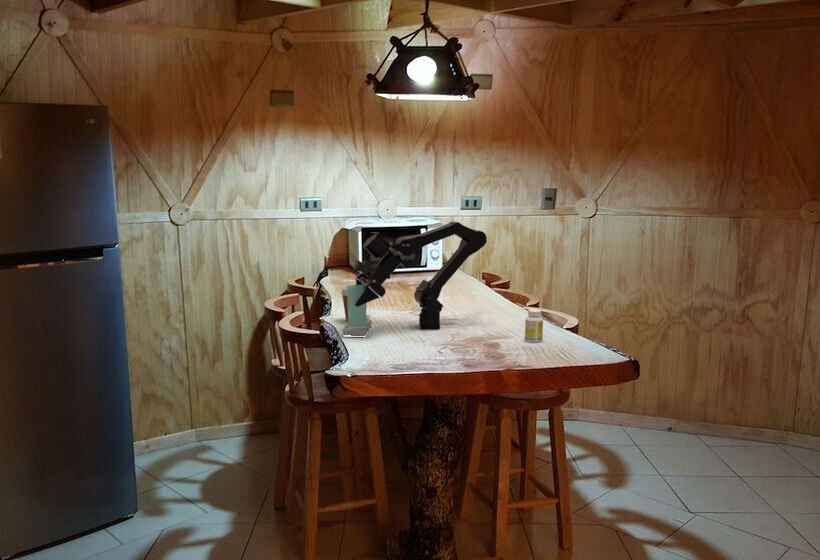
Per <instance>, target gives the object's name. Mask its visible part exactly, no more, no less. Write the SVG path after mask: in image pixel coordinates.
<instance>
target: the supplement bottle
mask: <svg viewBox="0 0 820 560" xmlns="http://www.w3.org/2000/svg"><path fill="white" fill-rule="evenodd" d="M524 321H525V323H524V327H525V328H524V330H525V331H524V340H525V341H526V342H529V343H541V342H542V341H543V329H544V319H543V317H542V310H541V309H539V308H533V309H532V308H530V309H528V310H527V316H526V317H525V320H524Z"/></svg>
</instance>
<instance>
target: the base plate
mask: <svg viewBox="0 0 820 560" xmlns="http://www.w3.org/2000/svg"><path fill="white" fill-rule="evenodd" d="M370 317H371V316H370V314H366V327H355V328H351V327H350V326H349V325H348V323H346V325H345V327H344V328H343V329H342V336H343V335H351V336H365V335H366V334H367V332H368V331H369V329H370V328H371V329H372V320H370V319H371V318H370ZM371 329H370V330H371ZM369 332H370V331H369ZM369 332H368V333H369ZM367 335H368V334H367ZM367 335H366V336H367Z"/></svg>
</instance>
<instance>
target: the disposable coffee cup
mask: <svg viewBox="0 0 820 560" xmlns="http://www.w3.org/2000/svg"><path fill="white" fill-rule="evenodd" d="M340 294H341V296H342V302H343V310H344V314H345V322H346V321H347V322H348V295H347V286H344V287H343V288H341V292H340Z"/></svg>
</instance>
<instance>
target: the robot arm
mask: <svg viewBox="0 0 820 560" xmlns="http://www.w3.org/2000/svg"><path fill="white" fill-rule="evenodd" d="M452 236H456V237H458V238H460V243H459V245H458V248H457V249H456V251H455V252H454V253H452V255H451V256H450V257H449V258H448V260H447V261H446V262H445V263H444V264H443V265H442V267H440V268H439V270H438V271H437V272H436V273H435V275H434V276H433V277H432V278H431V279H429V280H428V281H427V280H426V279H422V280H421V282H420V284H419V285H418V286H417V287H415V290H414V293H413V296H414V301H415V302H416V303H418V306H419V307H420V308H421V309H420V313H419V315H418V317H419V318H418V319H419V321H418V322H419V325H418V326H419V327H420V328H421V330H422V329H423V330H440V329H441V312H442V311H443V307H444V304H442V303H441V302H440V301H439V300H438V299H439V297H440V294H441V291H442V289H443V288H444V287H445V285H446V284H447V282H448V281H450V279H451V278H452V277H453V275H454V274H456V272H457V271H458V270H459V268H460V267H461V266H462V265H463V264H464V262H465V261H466V260H467V259H468V258H469V257H470V256H473V254H475V253H477V252H479V251H480V250H481V249H482V248H483V247H484V246H485V245H486V244H487V242H488V238H487V234H486V233H485V232H484V231H481V230H477V229H473V228H470V227H468V226H466V225H463V224H462V223H461V222H458V221H450V222H448V223H446V224H444V225H442V226H439V227H435V228H432V229H429V230H427V231H424V232H422V233H420V234H411V235H404V236H400V237H398V238H397V239H396V240H395V241H394V240H393V241H387V240H386V239H385V237H383V235H382V234H381V233H380V232H375V234H373V235H371V236H370V237H369V238H367V239H366V241H365V242H364V243H363V246H362V247H363V248H364V249H365V251H367V252H368V253H369V254H370V255H371V256H372V257H373V258H374V259H378V258H379V259H380V260H379V261H378V262H377V263H373V264H372V265H371V262H369V261H367V260H364V261H363V262H362V261H361V260H358V259H356V260H355V262H354V264H353V266H352V269H353V270H355V271H356V272H358V273H357V274H355V280H354V281H355V285H364V292H363V293H362V295H361V296H360V297H359V299H358V300H357V302H356V303H355V306H356V307H359V306H361V305H363V304H365V303H366V304H368V303H370V302H372V301H374V300H376V299H380V298H383V297H384V296H385V295H386V290H387V289H386V288H385V287H384V286H383V284H384V283H385V282H386V280H390V279H391V278H392V274H393V273H394V272H395V271H396V270H397V268H398V267H399V266H402V267H403V268H407V266H408V265H407V260H408V259H407V258H402V256H405V257H408V256H409V257H410V256H412V255H414V254H415V253H418V252H419V251H420V250H421V249H422V248H423V247H426V246H428V245H430V244H433V243H435V242H438V241H441V240H444V239H446V238H449V237H452ZM392 251H395V253H394V252H392ZM401 255H402V256H401Z"/></svg>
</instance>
